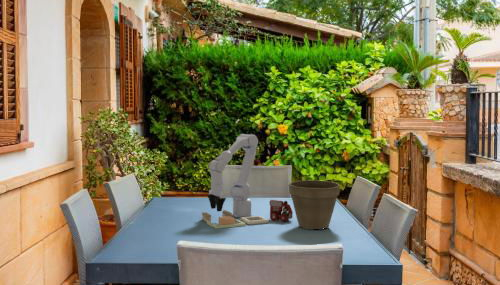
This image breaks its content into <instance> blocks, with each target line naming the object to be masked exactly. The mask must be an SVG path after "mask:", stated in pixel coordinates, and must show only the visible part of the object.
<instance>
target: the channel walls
mask: <svg viewBox="0 0 500 285" xmlns="http://www.w3.org/2000/svg"><path fill="white" fill-rule="evenodd" d="M221 212H222V214H221V215H222V216H221V217H225V216H231V217H233V216H232V213H233V212H230V211H227V210H225V209H224V210H223V209H222V211H221ZM201 221H204V222H205V223H207V222H208V221H209V222H211V223H212V215H211V214H210V213H208V212H206V211H201Z"/></svg>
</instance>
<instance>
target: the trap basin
mask: <svg viewBox="0 0 500 285" xmlns="http://www.w3.org/2000/svg"><path fill="white" fill-rule="evenodd" d="M239 221H241V222H244V223H246V225H249V226H252V225H262V224H264V223H265V224H269V219H267V218H266V217H263V216H260V215H253V216H245V217H239Z"/></svg>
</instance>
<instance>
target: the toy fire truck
mask: <svg viewBox="0 0 500 285" xmlns="http://www.w3.org/2000/svg"><path fill="white" fill-rule="evenodd" d="M288 203H289V202H288V201H287V200H285V201H283V200H276V199H270V200H269V206H270V207H269V208H270V209H269V219H270V220H271V221H272V220H273V221H272V222H275V221H277V220H279V221H280V222H282V221H284V222H283V223H285V222H287V221H288V220H291V219H293V213H294V212H293V209H292V207H291V205H290V204H288Z"/></svg>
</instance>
